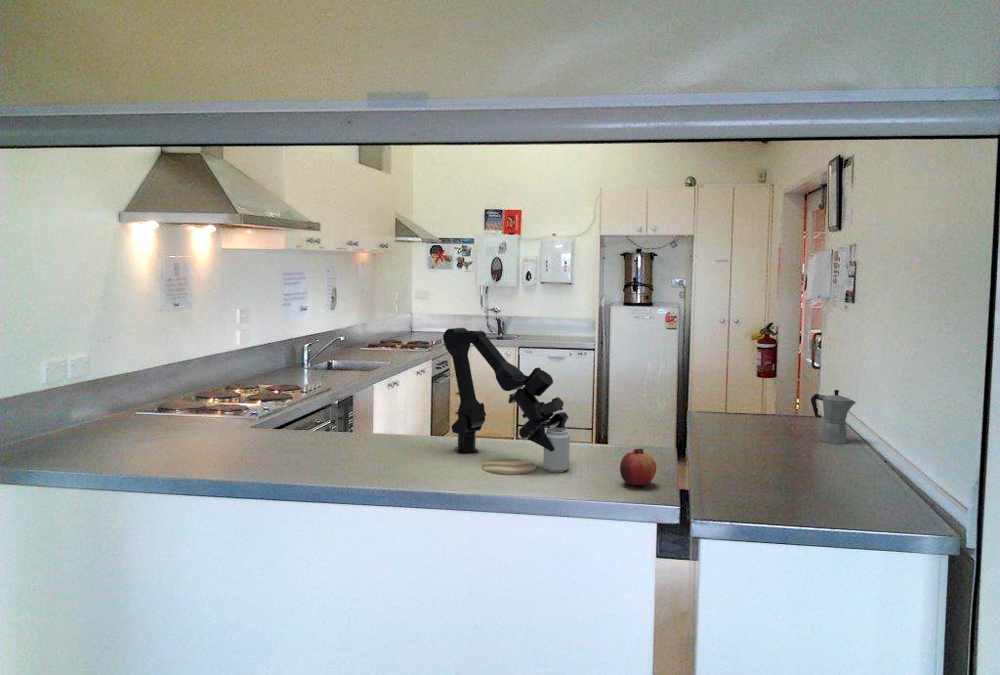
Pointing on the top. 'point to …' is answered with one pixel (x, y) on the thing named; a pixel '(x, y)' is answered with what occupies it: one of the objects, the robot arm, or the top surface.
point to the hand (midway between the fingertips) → (560, 448)
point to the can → (557, 450)
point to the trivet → (509, 466)
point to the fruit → (637, 468)
